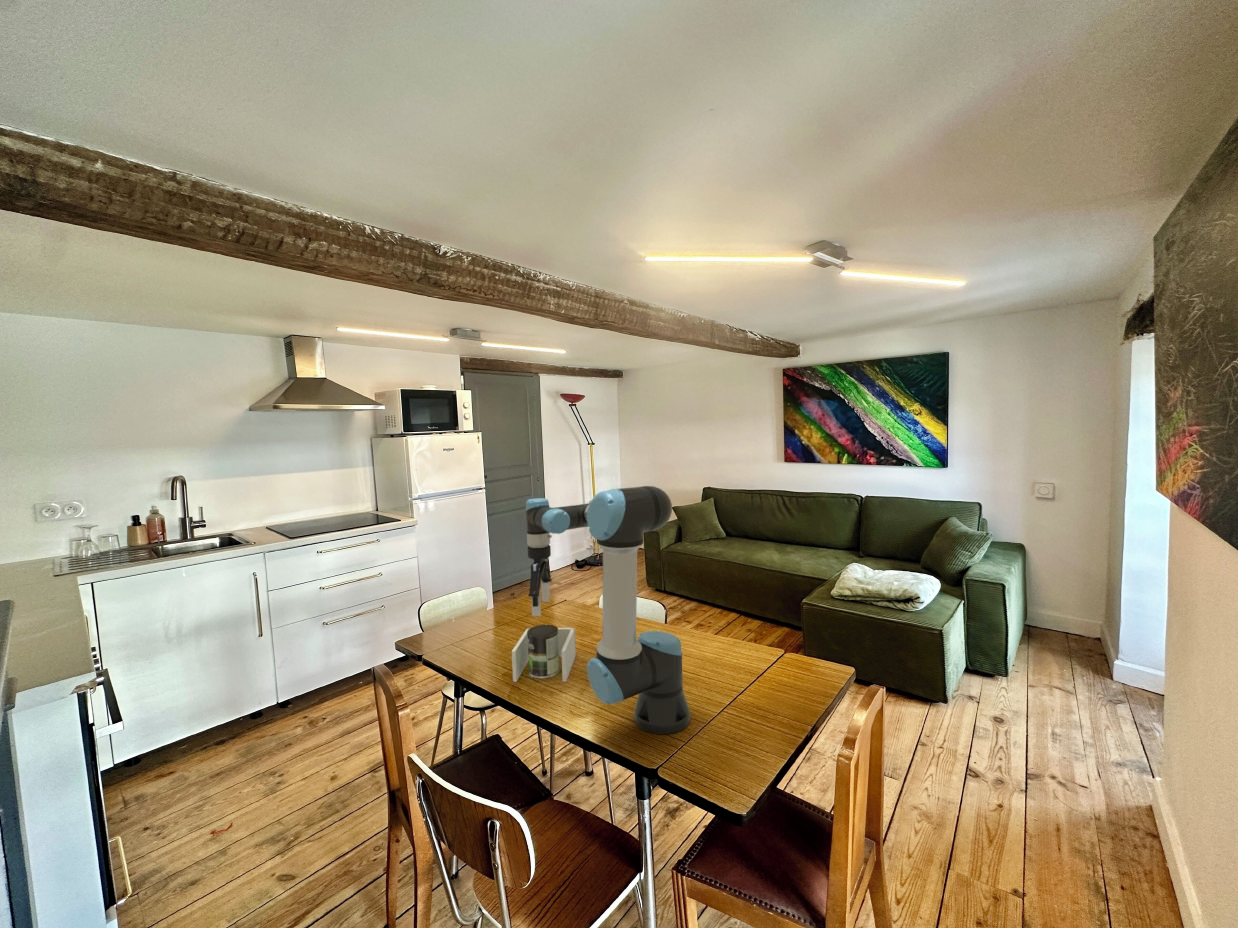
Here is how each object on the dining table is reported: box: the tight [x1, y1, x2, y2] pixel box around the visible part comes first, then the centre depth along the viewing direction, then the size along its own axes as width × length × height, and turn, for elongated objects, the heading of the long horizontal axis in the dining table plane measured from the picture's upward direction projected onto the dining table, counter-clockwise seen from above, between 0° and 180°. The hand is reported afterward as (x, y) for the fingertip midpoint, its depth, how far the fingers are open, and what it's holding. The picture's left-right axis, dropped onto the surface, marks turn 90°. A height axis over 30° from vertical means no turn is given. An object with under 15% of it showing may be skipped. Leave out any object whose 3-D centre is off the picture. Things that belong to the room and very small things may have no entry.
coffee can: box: [527, 624, 560, 680], centre depth 163 cm, size 10×10×14 cm
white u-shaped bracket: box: [511, 627, 577, 683], centre depth 166 cm, size 19×17×10 cm
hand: (541, 608), depth 162 cm, fingers open, 13 cm apart
